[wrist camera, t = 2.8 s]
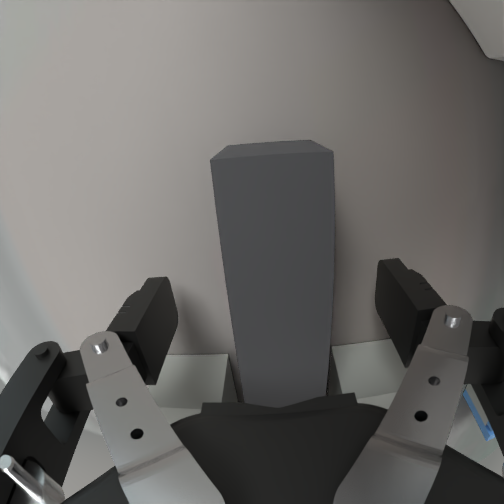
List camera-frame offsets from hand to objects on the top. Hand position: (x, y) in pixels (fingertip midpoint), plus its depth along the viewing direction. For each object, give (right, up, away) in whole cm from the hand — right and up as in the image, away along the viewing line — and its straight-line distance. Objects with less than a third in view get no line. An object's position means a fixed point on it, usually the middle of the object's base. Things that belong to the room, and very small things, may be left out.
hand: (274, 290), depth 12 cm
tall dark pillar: (0, -1, +2) cm, 3 cm away
